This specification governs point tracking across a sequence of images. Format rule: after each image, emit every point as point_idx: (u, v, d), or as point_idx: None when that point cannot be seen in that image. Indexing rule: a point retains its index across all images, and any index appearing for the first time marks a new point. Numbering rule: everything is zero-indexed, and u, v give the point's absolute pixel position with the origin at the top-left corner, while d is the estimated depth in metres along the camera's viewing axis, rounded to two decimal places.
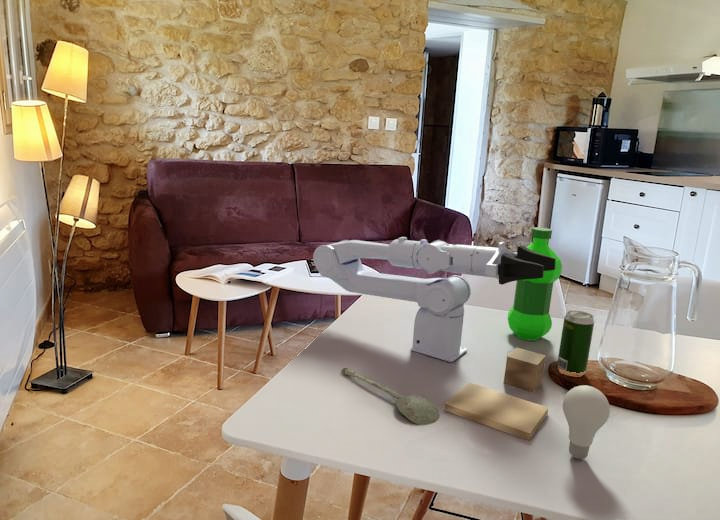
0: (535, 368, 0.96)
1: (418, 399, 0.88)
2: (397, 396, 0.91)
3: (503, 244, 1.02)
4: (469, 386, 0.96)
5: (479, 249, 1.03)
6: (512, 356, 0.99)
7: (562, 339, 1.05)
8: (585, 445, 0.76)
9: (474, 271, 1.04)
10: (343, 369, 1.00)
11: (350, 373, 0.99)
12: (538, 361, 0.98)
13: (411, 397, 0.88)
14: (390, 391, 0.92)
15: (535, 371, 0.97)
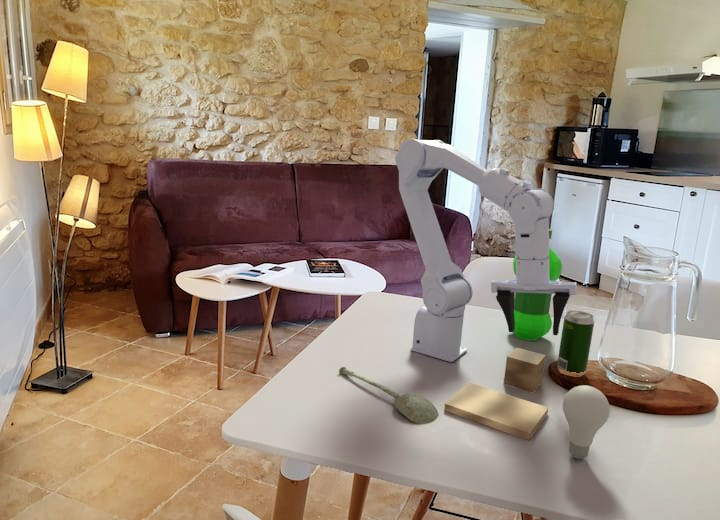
0: (535, 368, 0.96)
1: (417, 398, 0.88)
2: (396, 395, 0.91)
3: None
4: (469, 386, 0.96)
5: (522, 264, 0.95)
6: (512, 356, 0.99)
7: (562, 339, 1.05)
8: (585, 445, 0.76)
9: None
10: (341, 369, 1.00)
11: (348, 373, 0.99)
12: (538, 361, 0.98)
13: (410, 396, 0.89)
14: (389, 390, 0.92)
15: (535, 371, 0.97)
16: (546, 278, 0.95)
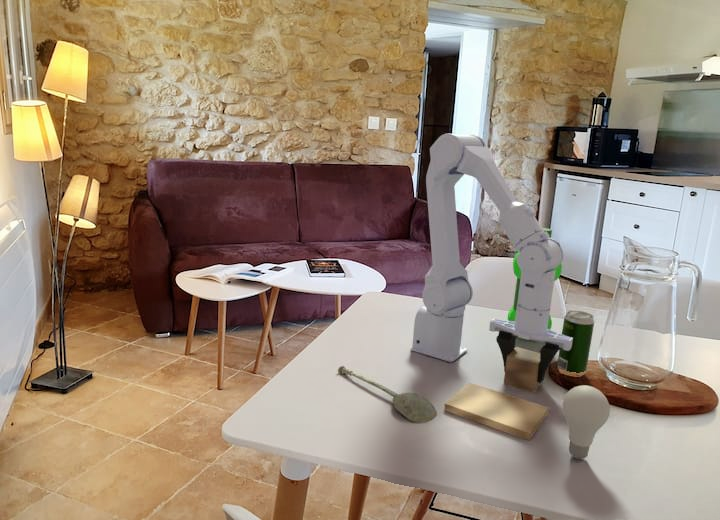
0: (535, 367, 0.96)
1: (415, 397, 0.89)
2: (394, 394, 0.91)
3: None
4: (469, 386, 0.96)
5: (521, 312, 0.96)
6: (512, 355, 0.99)
7: None
8: (585, 445, 0.76)
9: None
10: (340, 368, 1.01)
11: (347, 372, 0.99)
12: (538, 360, 0.98)
13: (408, 395, 0.89)
14: (387, 389, 0.92)
15: (535, 370, 0.97)
16: (543, 329, 0.96)
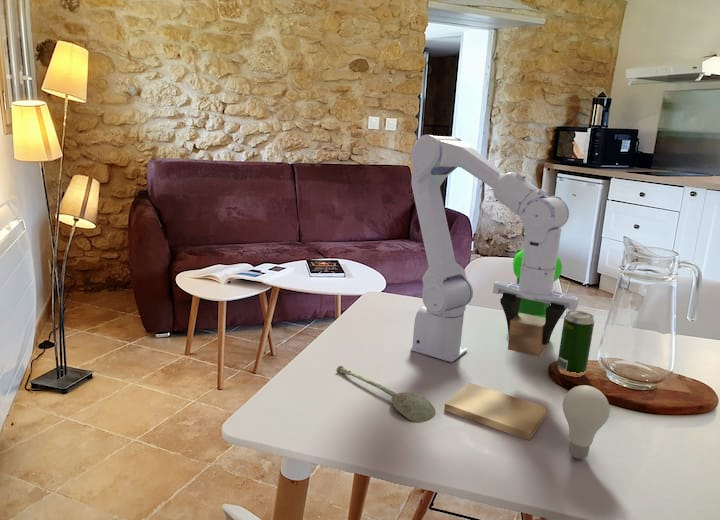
0: (539, 330, 0.94)
1: (414, 396, 0.89)
2: (393, 394, 0.91)
3: None
4: (469, 386, 0.96)
5: (525, 271, 0.94)
6: (515, 320, 0.97)
7: (562, 339, 1.05)
8: (585, 445, 0.76)
9: None
10: (338, 368, 1.01)
11: (345, 372, 0.99)
12: (542, 324, 0.96)
13: (407, 395, 0.89)
14: (386, 389, 0.93)
15: (539, 333, 0.94)
16: (548, 288, 0.94)
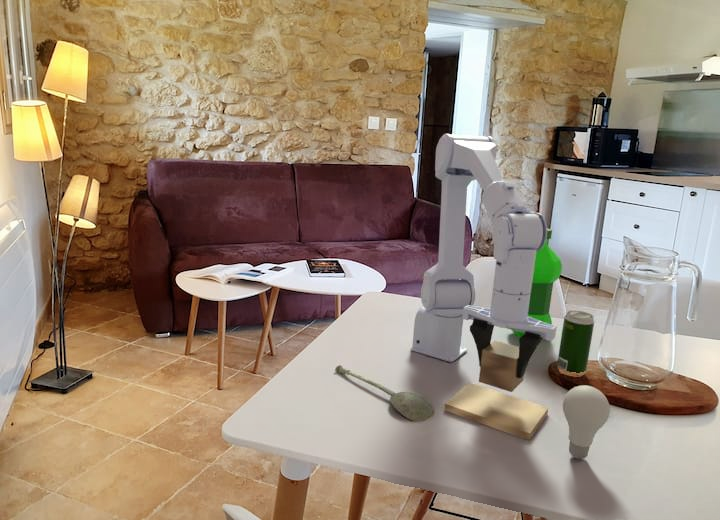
0: (514, 363, 0.84)
1: (413, 396, 0.89)
2: (392, 393, 0.91)
3: None
4: (469, 386, 0.96)
5: (497, 296, 0.84)
6: (488, 350, 0.87)
7: (562, 339, 1.05)
8: (585, 445, 0.76)
9: None
10: (337, 367, 1.01)
11: (344, 371, 1.00)
12: (518, 355, 0.85)
13: (406, 394, 0.89)
14: (385, 388, 0.93)
15: (514, 366, 0.84)
16: (522, 316, 0.83)
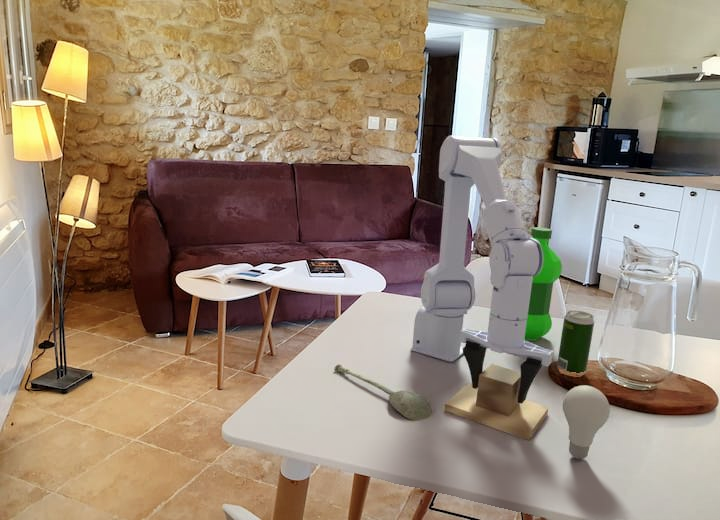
0: (510, 388, 0.85)
1: (411, 395, 0.89)
2: (390, 392, 0.92)
3: None
4: (469, 386, 0.96)
5: (494, 321, 0.85)
6: (485, 374, 0.88)
7: (562, 339, 1.05)
8: (585, 445, 0.76)
9: None
10: (336, 366, 1.01)
11: (343, 370, 1.00)
12: (514, 380, 0.86)
13: (404, 393, 0.90)
14: (383, 387, 0.93)
15: (510, 392, 0.85)
16: (519, 341, 0.84)
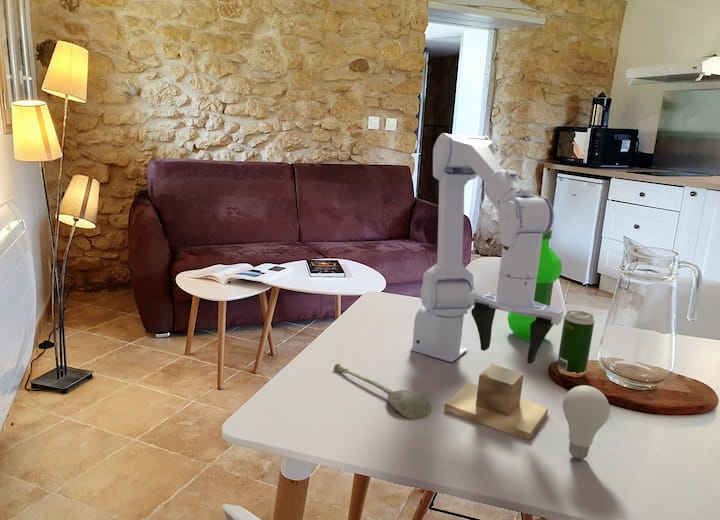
0: (510, 388, 0.85)
1: (410, 394, 0.89)
2: (389, 392, 0.92)
3: None
4: (469, 386, 0.96)
5: (503, 280, 0.84)
6: (485, 374, 0.88)
7: (562, 339, 1.05)
8: (585, 445, 0.76)
9: None
10: (336, 366, 1.01)
11: (343, 370, 1.00)
12: (514, 380, 0.86)
13: (403, 393, 0.90)
14: (382, 387, 0.93)
15: (510, 392, 0.85)
16: (529, 300, 0.83)
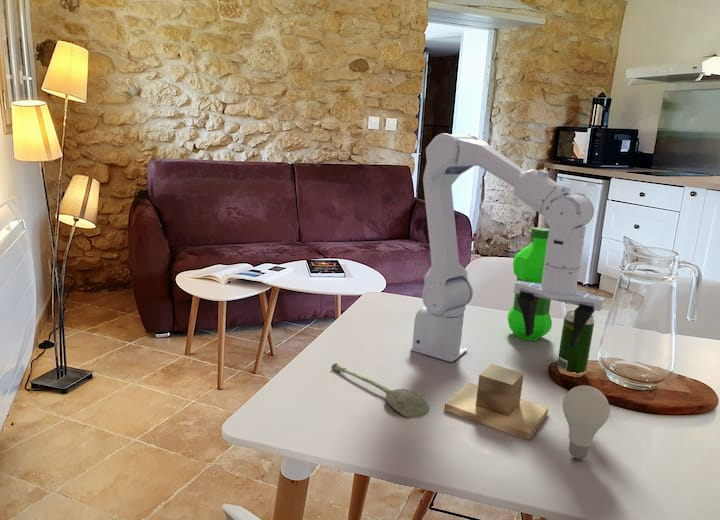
0: (510, 388, 0.85)
1: (408, 393, 0.90)
2: (387, 391, 0.92)
3: None
4: (469, 386, 0.96)
5: (549, 271, 0.91)
6: (485, 374, 0.88)
7: (562, 339, 1.05)
8: (585, 445, 0.76)
9: None
10: (333, 365, 1.02)
11: (340, 369, 1.00)
12: (514, 380, 0.86)
13: (402, 392, 0.90)
14: (380, 386, 0.94)
15: (510, 392, 0.85)
16: (572, 288, 0.91)
